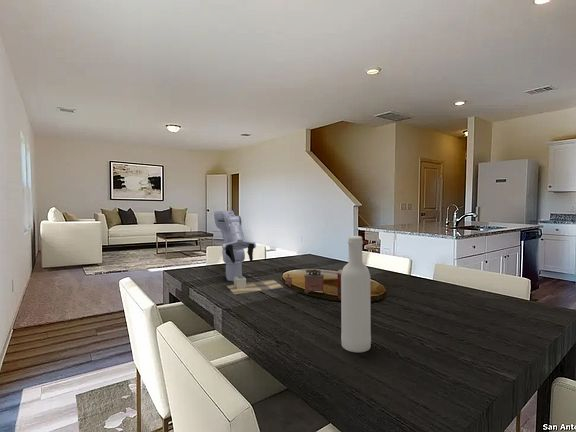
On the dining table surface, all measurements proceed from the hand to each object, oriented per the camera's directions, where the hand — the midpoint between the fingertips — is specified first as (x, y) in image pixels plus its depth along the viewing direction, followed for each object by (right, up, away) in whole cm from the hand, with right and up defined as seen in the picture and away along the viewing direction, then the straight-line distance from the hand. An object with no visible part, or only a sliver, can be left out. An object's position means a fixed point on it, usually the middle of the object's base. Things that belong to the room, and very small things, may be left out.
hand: (242, 261), depth 141 cm
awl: (+19, -12, +9) cm, 25 cm away
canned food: (+43, -14, -10) cm, 46 cm away
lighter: (+30, -13, -1) cm, 33 cm away
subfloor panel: (+5, -13, +5) cm, 15 cm away
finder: (-2, -12, +5) cm, 13 cm away
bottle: (+38, -16, -50) cm, 65 cm away
